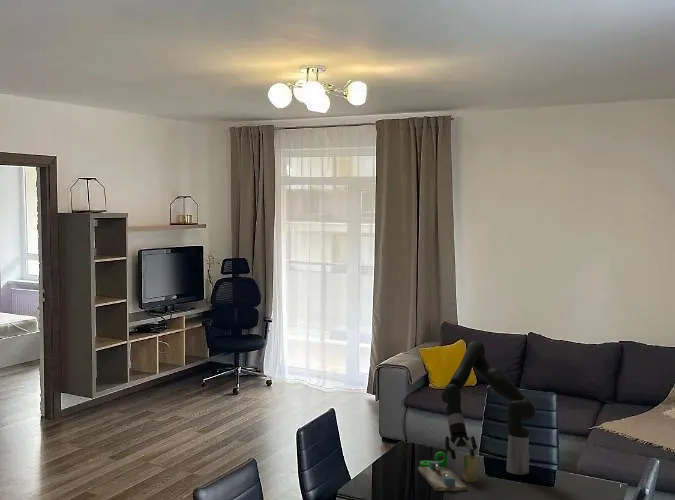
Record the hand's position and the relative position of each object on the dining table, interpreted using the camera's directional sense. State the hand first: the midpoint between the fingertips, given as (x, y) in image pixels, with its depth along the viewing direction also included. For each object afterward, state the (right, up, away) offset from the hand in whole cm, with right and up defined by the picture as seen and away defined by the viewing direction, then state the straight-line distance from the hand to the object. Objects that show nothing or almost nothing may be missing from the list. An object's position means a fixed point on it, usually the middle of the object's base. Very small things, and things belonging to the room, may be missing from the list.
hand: (463, 459), depth 305 cm
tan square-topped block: (+2, -8, -6) cm, 10 cm away
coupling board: (-11, -7, -8) cm, 15 cm away
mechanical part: (-13, -7, +9) cm, 17 cm away
